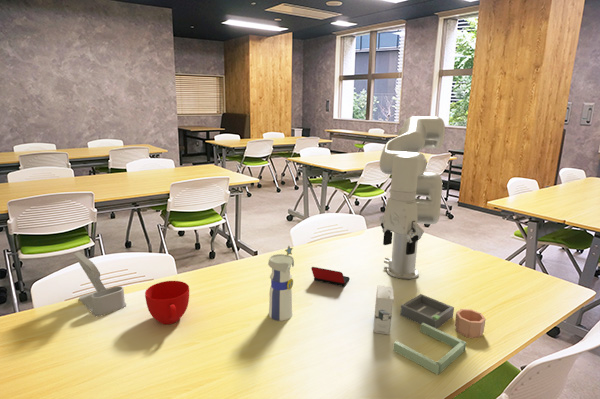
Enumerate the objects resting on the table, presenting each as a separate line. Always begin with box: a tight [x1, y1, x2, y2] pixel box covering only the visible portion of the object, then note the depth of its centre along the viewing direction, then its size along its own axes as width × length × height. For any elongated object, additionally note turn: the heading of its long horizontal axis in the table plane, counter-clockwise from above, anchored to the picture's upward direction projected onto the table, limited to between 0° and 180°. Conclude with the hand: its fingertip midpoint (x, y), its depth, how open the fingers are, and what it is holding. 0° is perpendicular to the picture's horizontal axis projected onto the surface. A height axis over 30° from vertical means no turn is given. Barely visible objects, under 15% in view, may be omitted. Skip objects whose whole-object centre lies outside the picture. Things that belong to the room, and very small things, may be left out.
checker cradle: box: [400, 293, 455, 329], centre depth 125 cm, size 12×12×4 cm
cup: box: [454, 308, 486, 339], centre depth 117 cm, size 8×8×5 cm
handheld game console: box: [311, 266, 350, 288], centre depth 148 cm, size 12×11×7 cm
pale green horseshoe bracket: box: [392, 323, 467, 376], centre depth 108 cm, size 13×15×2 cm
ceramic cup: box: [144, 280, 190, 325], centre depth 119 cm, size 13×17×10 cm
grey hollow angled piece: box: [73, 251, 127, 317], centre depth 128 cm, size 17×10×18 cm, turn 46°
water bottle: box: [267, 245, 295, 321], centre depth 122 cm, size 8×9×25 cm
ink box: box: [373, 285, 395, 335], centre depth 118 cm, size 9×5×12 cm, turn 168°
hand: (398, 249), depth 120 cm, fingers open, 9 cm apart
